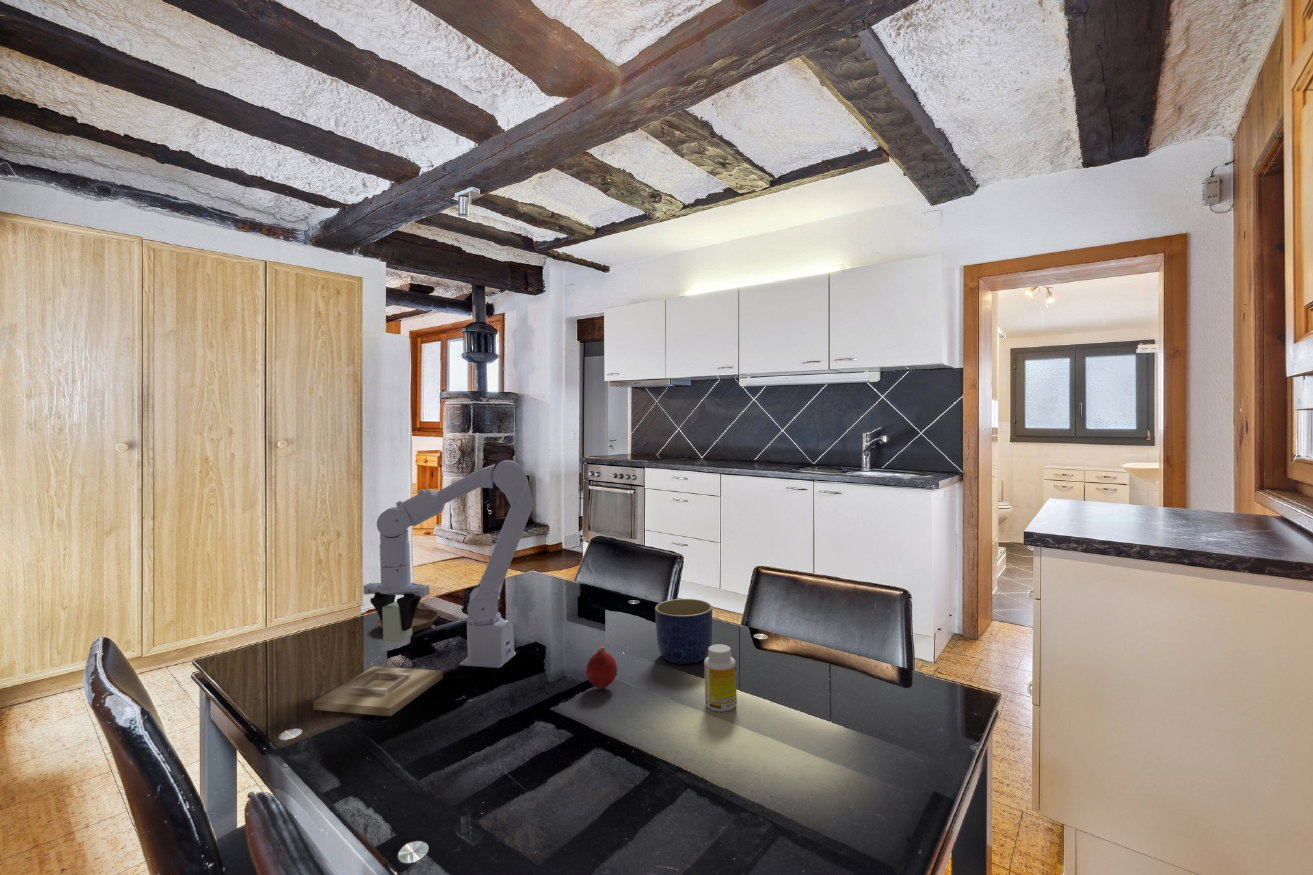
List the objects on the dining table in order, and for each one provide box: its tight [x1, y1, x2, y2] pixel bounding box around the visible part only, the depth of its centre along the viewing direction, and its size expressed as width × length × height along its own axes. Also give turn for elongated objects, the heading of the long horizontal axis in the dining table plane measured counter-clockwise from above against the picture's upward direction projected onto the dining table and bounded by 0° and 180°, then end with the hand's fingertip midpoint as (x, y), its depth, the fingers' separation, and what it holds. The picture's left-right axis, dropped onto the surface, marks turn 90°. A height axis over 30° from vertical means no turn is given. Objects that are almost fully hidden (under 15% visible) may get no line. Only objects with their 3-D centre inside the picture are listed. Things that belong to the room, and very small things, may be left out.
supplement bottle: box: [703, 643, 738, 713], centre depth 102 cm, size 6×6×10 cm
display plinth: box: [312, 666, 444, 717], centre depth 111 cm, size 16×16×2 cm
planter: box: [654, 598, 713, 665], centre depth 125 cm, size 12×12×11 cm
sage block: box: [382, 601, 413, 643], centre depth 122 cm, size 4×4×7 cm
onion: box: [586, 646, 618, 691], centre depth 110 cm, size 6×6×8 cm
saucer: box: [376, 608, 439, 633], centre depth 151 cm, size 15×15×3 cm
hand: (397, 628), depth 122 cm, fingers closed on sage block, 4 cm apart
